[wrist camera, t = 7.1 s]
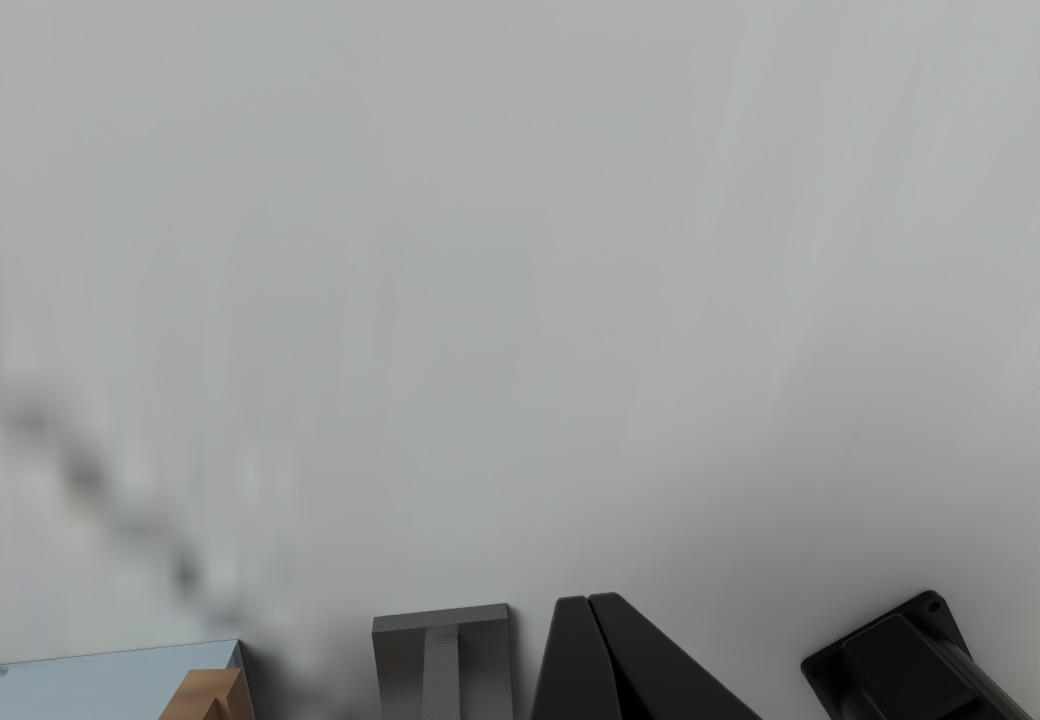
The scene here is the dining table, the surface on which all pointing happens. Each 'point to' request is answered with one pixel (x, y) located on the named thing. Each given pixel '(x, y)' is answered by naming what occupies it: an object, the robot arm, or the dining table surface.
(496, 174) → the dining table surface
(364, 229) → the dining table surface
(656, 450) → the dining table surface
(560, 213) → the dining table surface
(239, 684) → the lever
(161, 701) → the box
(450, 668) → the pivot stand
